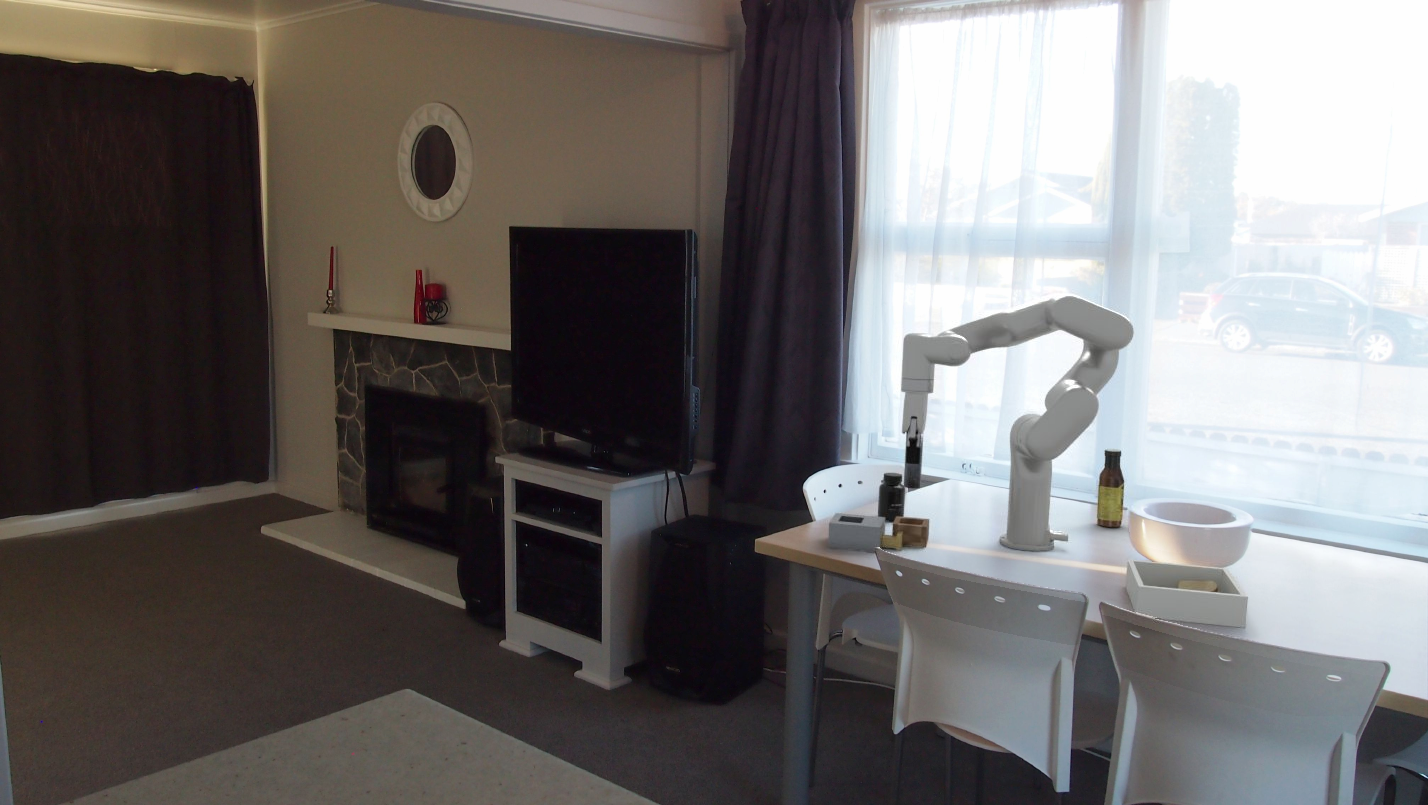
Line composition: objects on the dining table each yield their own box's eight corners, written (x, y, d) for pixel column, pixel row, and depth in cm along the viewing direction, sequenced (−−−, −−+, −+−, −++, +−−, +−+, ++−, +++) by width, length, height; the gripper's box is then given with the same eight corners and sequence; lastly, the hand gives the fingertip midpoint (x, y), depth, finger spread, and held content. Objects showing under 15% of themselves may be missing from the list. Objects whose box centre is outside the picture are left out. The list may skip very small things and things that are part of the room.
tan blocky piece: (902, 546, 242) (903, 531, 241) (901, 550, 238) (901, 535, 238) (863, 542, 244) (864, 528, 244) (861, 546, 241) (862, 531, 240)
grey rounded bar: (921, 485, 246) (924, 428, 244) (919, 489, 242) (922, 430, 240) (904, 484, 247) (907, 427, 245) (902, 487, 243) (905, 429, 241)
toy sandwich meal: (1152, 590, 213) (1154, 568, 213) (1224, 603, 206) (1226, 580, 205) (1139, 605, 203) (1141, 582, 202) (1213, 620, 195) (1215, 596, 195)
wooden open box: (928, 539, 249) (929, 519, 248) (925, 547, 241) (926, 527, 241) (895, 536, 251) (896, 516, 250) (891, 544, 243) (892, 524, 243)
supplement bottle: (896, 523, 263) (898, 478, 262) (872, 519, 267) (874, 474, 266) (908, 518, 269) (910, 474, 267) (885, 514, 273) (887, 470, 271)
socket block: (884, 541, 246) (885, 517, 245) (879, 552, 236) (880, 527, 236) (835, 537, 249) (835, 513, 248) (828, 547, 240) (829, 522, 239)
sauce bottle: (1125, 528, 262) (1131, 452, 260) (1101, 528, 262) (1106, 452, 260) (1116, 522, 269) (1121, 448, 266) (1092, 521, 269) (1097, 447, 266)
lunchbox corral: (1224, 596, 209) (1227, 568, 208) (1245, 627, 191) (1248, 597, 190) (1125, 587, 214) (1127, 559, 213) (1136, 616, 196) (1138, 586, 195)
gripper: (904, 381, 250) (901, 454, 253) (897, 388, 234) (893, 467, 237) (935, 382, 248) (931, 456, 250) (930, 390, 232) (926, 469, 235)
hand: (913, 460), depth 243 cm, fingers closed on grey rounded bar, 4 cm apart
